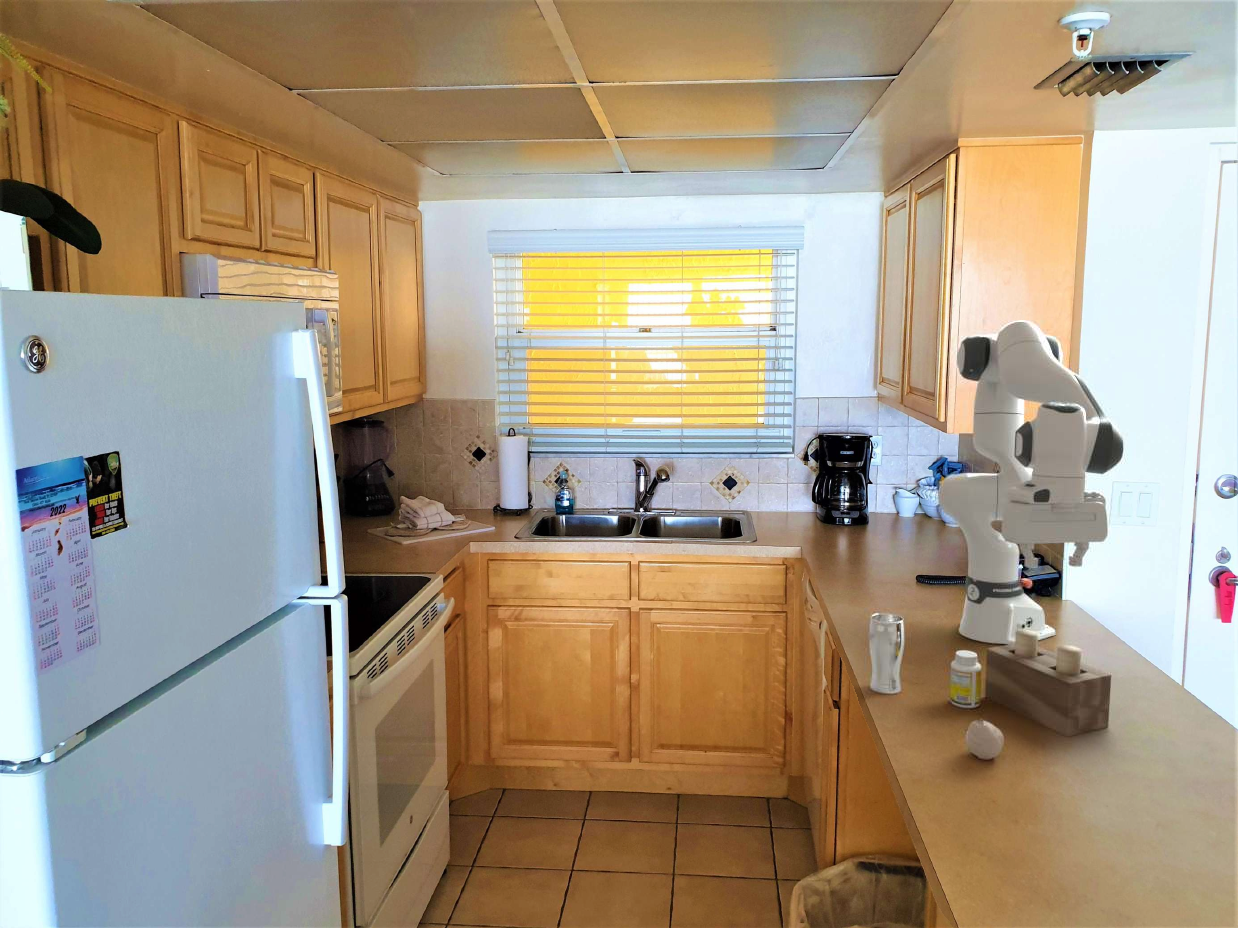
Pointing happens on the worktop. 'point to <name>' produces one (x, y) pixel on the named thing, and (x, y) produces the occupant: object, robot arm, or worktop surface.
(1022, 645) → the peg
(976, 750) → the garlic bulb
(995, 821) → the worktop surface
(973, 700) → the supplement bottle
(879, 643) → the beer glass
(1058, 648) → the peg
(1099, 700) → the block
